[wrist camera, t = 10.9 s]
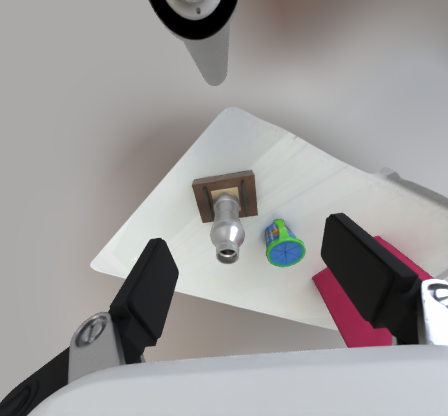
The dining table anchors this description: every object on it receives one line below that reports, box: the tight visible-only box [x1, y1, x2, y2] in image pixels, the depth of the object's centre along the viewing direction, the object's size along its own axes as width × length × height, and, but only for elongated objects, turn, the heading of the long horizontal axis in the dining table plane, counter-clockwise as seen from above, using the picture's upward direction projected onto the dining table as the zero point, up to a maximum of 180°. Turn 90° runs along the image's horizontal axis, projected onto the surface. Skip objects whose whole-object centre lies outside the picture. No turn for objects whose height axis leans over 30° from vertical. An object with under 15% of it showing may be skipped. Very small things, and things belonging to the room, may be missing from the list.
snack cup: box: [265, 219, 305, 267], centre depth 50 cm, size 16×10×10 cm
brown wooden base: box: [192, 170, 258, 223], centre depth 45 cm, size 12×16×6 cm
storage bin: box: [312, 236, 434, 348], centre depth 51 cm, size 28×29×28 cm
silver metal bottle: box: [210, 193, 245, 264], centre depth 35 cm, size 6×7×20 cm
